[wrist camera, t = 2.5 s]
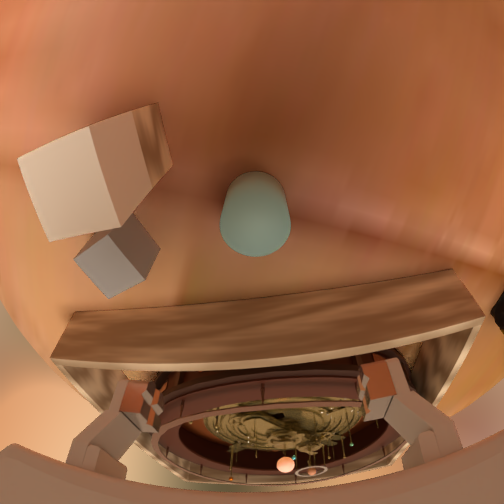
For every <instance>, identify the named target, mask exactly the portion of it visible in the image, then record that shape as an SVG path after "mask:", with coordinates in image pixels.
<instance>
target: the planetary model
mask: <svg viewBox="0 0 504 504" xmlns="http://www.w3.org/2000/svg"><path fill="white" fill-rule="evenodd" d="M395 357H396V358H398V359H399V361H400V364H401V367H402V369H403V372H404V375H405V378H406V381H407V383H408V386H409V389H410V391H415V392H416V393H417V394H418V392H417V390H416V388H415V386H414V385H413V384H412V375H411V371H410V369H409V367H408V365H407V363H406V361H405V359H404V357H403V356H402V355H400V354H399V353H398V352H397V351H396V350H395V349H394V348H390V349H385V350H380V351H375V352H370V353H365V354H359V355H354V356H348V357H342V358H335V359H329V360H322V361H314V362H307V363H299V364H290V365H281V366H270V367H259V368H246V369H230V370H209V371H160V373H159V374H158V376H157V377H156V379H155V381H154V383H155V384H156V389H157V390H159V391H161V393H162V394H163V397H164V410H163V412H162V413H161V414H160V415H159V416H160V418H161V424H160V429H159V433H152V432H148V433H149V434H150V435H151V436H152V438H151V444H152V447H153V450H154V451H155V452H156V453H157V454H158V455H159V456H160V457H161V458H162V459H163V460H165V461H166V462H168V463H169V464H171V465H173V466H175V467H177V468H179V469H181V470H183V471H185V472H188V473H191V474H194V475H196V476H199V477H203V478H207V479H211V480H215V481H220V482H226V483H232V484H240V485H251V486H287V485H298V484H307V483H313V482H319V481H324V480H329V479H333V478H337V477H341V476H345V475H348V474H351V473H354V472H357V471H360V470H362V469H365V468H367V467H370V466H372V465H374V464H376V463H378V462H380V461H382V460H384V459H386V458H387V457H389V456H391V455H392V454H394V453H395V452H397V451H398V450H399V449H401V448H402V447H403V446H404V445H405V444H406V443H407V441H406V440H404V441H403V442H402V443H401V444H400V445H399V446H398V447H397V448H396V449H394V450H393V451H392V452H390V453H389V454H388V455H386V456H385V448H384V447H385V446H387V445H388V444H390V443H392V442H393V441H395V440H396V439H397V438H398V437H400V436H401V435H400V434H399V433H398V432H397V431H396V430H395V429H394V428H393V427H392V426H391V425H390V424H389V423H388V422H387V421H386V420H385V419H384V418H380V419H375V420H370V421H363V416H362V412H361V404H362V401H361V400H360V399H359V398H358V393H357V376H358V375H359V371H358V370H359V366H360V365H362V364H367V363H372V362H376V361H381V360H387V359H391V358H395ZM158 444H159V445H161V446H162V447H163V448H165V449H166V456H165V455H164V454H163V453H162V452H161V451H160V448H159V445H158ZM380 449H382V450H383V453H384V457H383V458H381V459H379V460H377V461H375V462H373V463H371V464H369V465H367V466H364V467H362V468H360V469H357V470H354V471H351V472H348V473H344V464H347V463H350V462H353V461H355V460H358V459H361V458H363V457H366V456H368V455H370V454H372V453H374V452H376V451H378V450H380ZM168 452H171V453H173V454H174V455H176V456H178V457H180V458H182V459H185V460H187V461H190V462H192V463H195V464H198V465H201V466H200V474H198V473H195V472H192V471H189V470H187V469H185V468H183V467H181V466H179V465H177V464H175V463H174V462H172V461H171V460H169V459H168V458H167V455H168ZM340 465H342V469H343V473H344V474H342V475H338V476H334V477H330V478H326V479H321V480H315V481H309V482H302V483H296V479H297V476H302V477H308V476H315V475H319V474H322V473H324V472H326V471H327V469H329V468H333V467H337V466H340ZM203 466H204V467H208V468H211V469H216V470H221V471H225V472H231V475H232V473H238V474H246V475H245V479H246V483H237V482H231V481H233V478H232V477H229V480H230V481H225V480H219V479H215V478H211V477H207V476H203V475H201V472H202V468H203ZM320 470H324V471H323V472H321V473H318V474H316V473H317V471H320ZM302 473H308V474H309V475H300V474H302ZM292 474H295V476H294V477H295V483H292V484H272V485H271V484H247V477H248V476H247V475H268V476H272V475H292Z"/></svg>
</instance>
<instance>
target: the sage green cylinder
mask: <svg viewBox="0 0 504 504" xmlns="http://www.w3.org/2000/svg"><path fill="white" fill-rule="evenodd" d="M290 230H291V221H290V216H289V211H288V206H287V202H286V197H285V192H284V189H283V187H282V185H281V184H280V182H279V181H278V180H277V179H276V178H274V177H273V176H271V175H269V174H267V173H264V172H258V171H253V172H247V173H244V174H242V175H240V176H238V177H237V178H236V179H235V180H234V181H233V182H232V183H231V184H230V186H229V188H228V191H227V194H226V198H225V202H224V206H223V210H222V214H221V218H220V232H221V235H222V237H223V239H224V241H225V242H226V244H227V245H228V246H229V247H230V248H231V249H233V250H234V251H236V252H238V253H240V254H243V255H246V256H252V257H258V256H265V255H268V254H271V253H273V252H275V251H277V250H278V249H279V248H280V247H281V246H283V244H284V243H285V242H286V240H287V239H288V236H289V234H290Z"/></svg>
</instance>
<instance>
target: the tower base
mask: <svg viewBox="0 0 504 504" xmlns="http://www.w3.org/2000/svg"><path fill="white" fill-rule="evenodd" d="M131 111H132V114H133V118H134V122H135V126H136V130H137V134H138V138H139V142H140V145H141V149H142V153H143V157H144V160H145V164H146V167H147V171H148V174H149V178H150V181H151V185H152V188H153V187H154V186H155V185H156V184H157V183H158V182H159V180H160V179H161V178H162V177H163V176H164V175H165V174H166V172H167V171H168V170H169V169H170V168H171V167H172V166H173V163H172V159H171V155H170V151H169V147H168V143H167V139H166V135H165V130H164V126H163V122H162V118H161V113H160V109H159V105H158V103H155V104H151V105H148V106H144V107H141V108H138V109H135V110H131ZM128 112H129V111H128ZM125 113H126V112H125ZM122 114H123V113H122ZM119 115H120V114H119ZM116 116H117V115H116ZM113 117H114V116H113ZM110 118H111V117H110ZM102 121H103V120H102ZM99 122H100V121H99ZM94 124H95V123H94ZM91 125H92V124H91ZM86 127H87V126H86ZM81 129H82V128H81ZM76 131H77V130H76ZM69 134H70V133H69Z"/></svg>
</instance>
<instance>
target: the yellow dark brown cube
mask: <svg viewBox="0 0 504 504" xmlns="http://www.w3.org/2000/svg"><path fill="white" fill-rule="evenodd" d="M491 315H492V316H493V317H494V319H495V322H496V324H497V325H498V326H499V327H500V330H501V331H502V332H503V334H504V293H503V294H502V296H501V298H500V299H499V301H498V302H497V303H496V305H495V306H494V308H493V309H492V311H491Z"/></svg>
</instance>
